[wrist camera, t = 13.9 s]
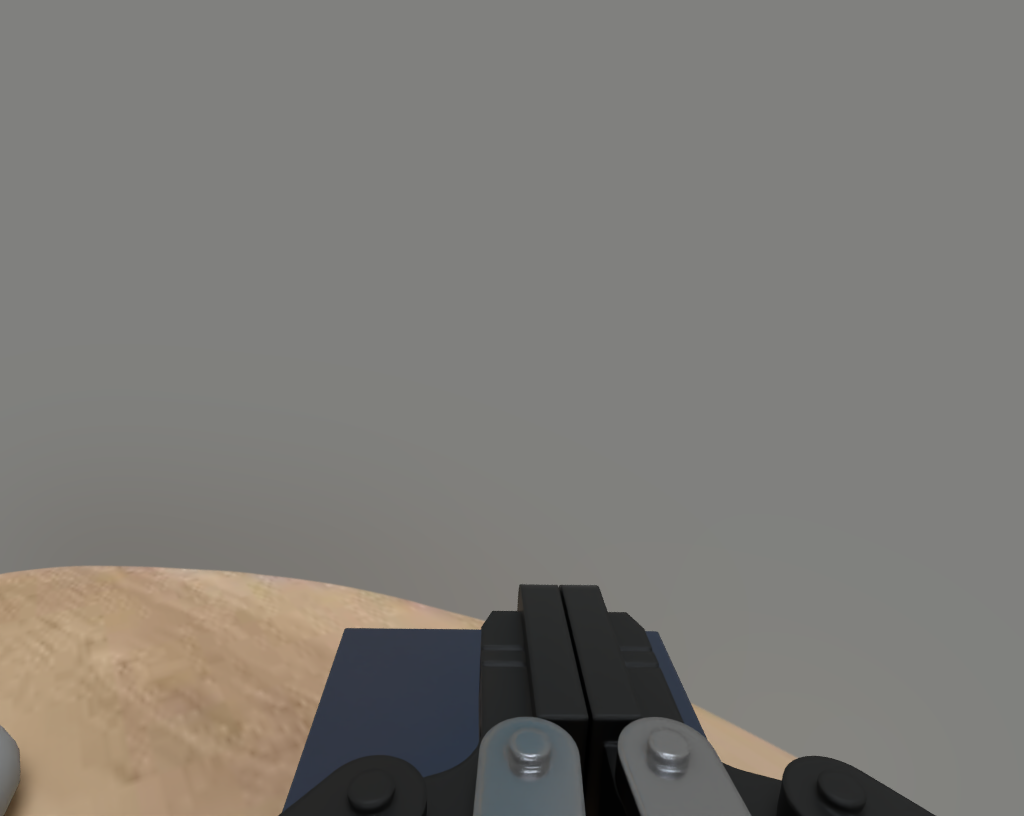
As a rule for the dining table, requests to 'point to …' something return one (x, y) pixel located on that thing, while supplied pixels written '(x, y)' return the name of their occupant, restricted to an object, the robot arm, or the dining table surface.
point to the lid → (412, 701)
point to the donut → (8, 769)
